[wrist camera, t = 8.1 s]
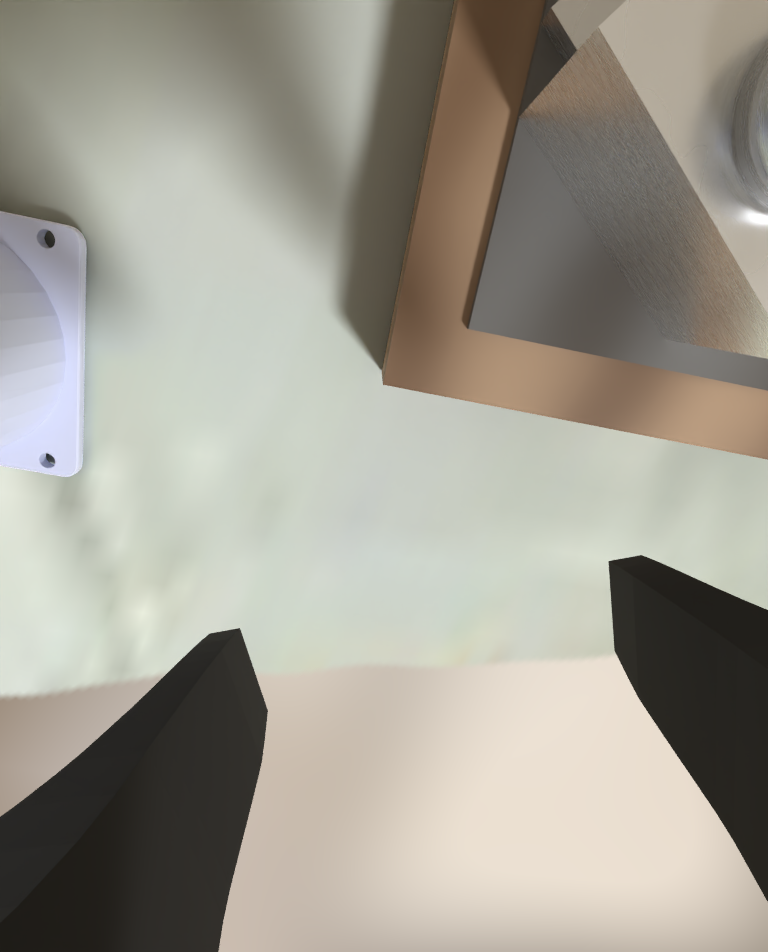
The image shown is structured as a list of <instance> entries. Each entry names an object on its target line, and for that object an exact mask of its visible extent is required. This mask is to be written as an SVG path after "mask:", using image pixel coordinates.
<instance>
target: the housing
mask: <svg viewBox="0 0 768 952" xmlns="http://www.w3.org/2000/svg"><path fill="white" fill-rule="evenodd" d="M541 25H542V27H543V28H544V30H545V32H546V33H547V35H548V37H549V38H550V40H551V41H552V43H553V45H554V46H555V48H556V49H557V51H558V53H559V54H560V56H561V58H562V59H563V61H564V62H565V65H564V66H563V68H562V69H561V70H560V71H559V72H558V73H557V74H556V76H555V77H554V78H553V79H552V80H551V81H550V82H549V84H548V85H547V86H546V87H545V88H544V89H543V90H542V92H541V93H540V94H539V95H538V96H537V97H536V98H535V100H534V101H533V102H532V103H531V104H530V105H529V107H528V108H527V109H526V110H525V111H524V112H523V113H522V115H521V116H520V117H519V119H520V120H521V122H522V123H523V125H524V126H525V128H526V129H527V131H528V132H529V134H530V135H531V137H532V138H533V140H534V141H535V143H536V144H537V146H538V147H539V149H540V150H541V152H542V153H543V155H544V156H545V158H546V159H547V161H548V162H549V164H550V165H551V167H552V168H553V170H554V171H555V173H556V174H557V176H558V177H559V179H560V181H561V182H562V184H563V185H564V187H565V188H566V190H567V191H568V193H569V194H570V196H571V197H572V199H573V200H574V202H575V203H576V205H577V206H578V208H579V209H580V211H581V212H582V214H583V215H584V217H585V218H586V220H587V221H588V223H589V224H590V226H591V227H592V229H593V230H594V232H595V233H596V235H597V236H598V238H599V240H600V241H601V243H602V244H603V246H604V247H605V249H606V250H607V252H608V253H609V255H610V256H611V258H612V259H613V261H614V262H615V264H616V265H617V267H618V268H619V270H620V271H621V273H622V274H623V276H624V277H625V279H626V280H627V282H628V283H629V285H630V286H631V288H632V289H633V291H634V292H635V294H636V295H637V297H638V299H639V300H640V302H641V303H642V305H643V306H644V308H645V309H646V311H647V312H648V314H649V315H650V317H651V318H652V320H653V321H654V323H655V324H656V326H657V327H658V329H659V330H660V332H661V333H662V335H663V336H664V338H665V339H666V340H671V341H676V342H681V343H687V344H692V345H697V346H703V347H708V348H713V349H719V350H724V351H729V352H734V353H740V354H745V355H750V356H756V357H761V358H766V359H768V0H559V1H558V2H556V3H555V4H554V5H553V6H552V7H551V9H550V10H549V12H548V13H547V15H546V17H545V18H544V20H543V21H542V23H541Z"/></svg>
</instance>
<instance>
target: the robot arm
mask: <svg viewBox="0 0 768 952" xmlns="http://www.w3.org/2000/svg"><path fill="white" fill-rule="evenodd" d="M48 231H51V232H52V234H53V235H54V237H55V244H54V246H53V247H52V248H50V247H48V245H47V244H46V243H45V239H44V237H45V233H47V232H48ZM86 256H87V246H86V240H85V238H84V236H83V234H82V233H81V232H80V231H79V230H78V229H77V228H75V227H72V226H70V225H65V224H60V223H56V222H51V221H46V220H41V219H37V218H32V217H27V216H22V215H17V214H13V213H8V212H3V211H0V466H4V467H10V468H16V469H22V470H28V471H33V472H39V473H45V474H51V475H57V476H62V477H69V476H72V475H74V474H75V473H77V472H79V470H80V469H81V468H82V464H83V428H84V371H85V313H86ZM46 453H48V454H50V455H52V456H53V457H54V459H55V464H51V463H49V462H48V460H47V459H46ZM609 574H610V589H611V604H612V619H613V634H614V648H615V652H616V654H617V656H618V658H619V660H620V662H621V664H622V666H623V668H624V670H625V672H626V674H627V676H628V678H629V680H630V682H631V684H632V686H633V688H634V690H635V692H636V694H637V696H638V697H639V699H640V700H641V702H642V704H643V705H644V707H645V708H646V710H647V711H648V713H649V714H650V716H651V717H652V719H653V720H654V722H655V723H656V725H657V726H658V728H659V729H660V731H661V732H662V734H663V735H664V737H665V738H666V739H667V741H668V743H669V744H670V745H671V747H672V749H673V750H674V751H675V753H676V754H677V756H678V757H679V759H680V760H681V762H682V763H683V765H684V766H685V768H686V769H687V770H688V772H689V773H690V775H691V776H692V778H693V779H694V781H695V782H696V784H697V785H698V787H699V788H700V790H701V791H702V793H703V794H704V796H705V797H706V798H707V800H708V801H709V803H710V804H711V806H712V807H713V809H714V810H715V812H716V813H717V815H718V817H719V818H720V820H721V821H722V823H723V824H724V826H725V827H726V829H727V831H728V832H729V834H730V836H731V837H732V839H733V840H734V842H735V844H736V846H737V848H738V849H739V851H740V853H741V855H742V856H743V858H744V860H745V862H746V864H747V865H748V867H749V869H750V871H751V872H752V874H753V876H754V878H755V880H756V882H757V883H758V885H759V887H760V889H761V890H762V892H763V894H764V896H765V898H766V900H767V901H768V610H766V609H764V608H761V607H759V606H757V605H754V604H752V603H749V602H747V601H745V600H742V599H740V598H738V597H735V596H733V595H731V594H729V593H726V592H724V591H722V590H720V589H717V588H715V587H713V586H711V585H708V584H706V583H704V582H702V581H700V580H697V579H695V578H693V577H691V576H689V575H686V574H684V573H682V572H680V571H677V570H675V569H673V568H671V567H669V566H666V565H664V564H662V563H659V562H657V561H655V560H652V559H650V558H647V557H644V556H642V555H640V556H635V557H629V558H624V559H618V560H613V561H609ZM267 712H268V710H267V708H266V704H265V701H264V698H263V695H262V693H261V690H260V687H259V684H258V681H257V678H256V675H255V672H254V669H253V666H252V663H251V660H250V657H249V654H248V651H247V648H246V645H245V642H244V639H243V636H242V633H241V630H240V628H238V629H233V630H227V631H222V632H216V633H211V634H209V635H208V636H206V637H205V638H204V639H203V640H202V641H201V642H199V643H198V644H197V645H196V646H195V647H194V648H193V649H192V650H191V651H190V652H189V653H188V654H187V655H186V656H185V657H184V658H182V659H181V660H180V661H179V662H178V663H177V664H176V665H175V666H174V667H173V668H172V669H171V670H170V671H169V672H168V673H167V674H166V675H165V676H164V677H163V678H162V679H161V680H160V681H159V682H158V683H157V684H156V685H155V686H154V687H153V688H152V689H151V690H150V691H149V692H148V693H147V694H146V695H145V696H143V697H142V698H141V699H140V700H139V702H137V703H136V704H135V705H134V706H133V707H132V708H131V709H130V710H129V711H128V712H127V713H125V714H124V715H123V716H122V717H121V718H120V719H119V720H118V721H117V722H116V723H114V724H113V725H112V726H111V727H110V728H109V729H108V730H107V731H106V732H104V733H103V734H102V735H101V736H100V737H99V738H98V739H97V740H96V741H95V742H93V743H92V744H91V745H90V746H89V747H88V748H87V749H86V750H85V751H84V752H82V753H81V754H80V755H79V756H78V757H76V758H75V759H74V760H73V761H72V762H70V763H69V764H68V765H67V766H66V767H64V768H63V769H62V770H61V771H59V772H58V773H57V774H56V775H55V776H53V777H52V778H51V779H49V780H48V781H47V782H46V783H44V784H43V785H42V786H40V787H39V788H38V789H37V790H35V791H34V792H33V793H32V794H30V795H29V796H28V797H26V798H25V799H24V800H23V801H21V802H20V803H19V804H17V805H16V806H15V807H13V808H12V809H11V810H9V811H8V812H6V813H5V814H4V815H2V816H1V817H0V952H218V950H219V943H220V938H221V931H222V925H223V919H224V914H225V910H226V905H227V900H228V895H229V891H230V887H231V883H232V878H233V875H234V871H235V867H236V863H237V859H238V855H239V851H240V847H241V843H242V839H243V835H244V832H245V828H246V824H247V820H248V815H249V812H250V808H251V804H252V800H253V796H254V792H255V788H256V783H257V779H258V775H259V771H260V766H261V763H262V756H263V748H264V741H265V731H266V722H267Z"/></svg>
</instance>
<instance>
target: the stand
mask: <svg viewBox="0 0 768 952" xmlns="http://www.w3.org/2000/svg"><path fill="white" fill-rule="evenodd" d="M558 1H559V0H454V4H453V9H452V14H451V19H450V25H449V30H448V35H447V40H446V45H445V50H444V55H443V60H442V65H441V71H440V76H439V81H438V86H437V91H436V96H435V101H434V106H433V112H432V117H431V122H430V127H429V132H428V137H427V142H426V147H425V153H424V158H423V163H422V168H421V173H420V178H419V183H418V188H417V193H416V199H415V204H414V209H413V214H412V219H411V224H410V229H409V234H408V240H407V245H406V250H405V255H404V260H403V265H402V270H401V275H400V280H399V286H398V291H397V296H396V301H395V306H394V311H393V316H392V321H391V327H390V332H389V337H388V342H387V347H386V352H385V357H384V362H383V368H382V379H383V385H388V386H394V387H399V388H404V389H409V390H414V391H419V392H424V393H429V394H435V395H440V396H445V397H450V398H455V399H460V400H465V401H471V402H476V403H481V404H486V405H491V406H496V407H501V408H506V409H512V410H517V411H522V412H527V413H532V414H537V415H542V416H548V417H553V418H558V419H563V420H568V421H573V422H578V423H583V424H589V425H594V426H599V427H604V428H609V429H614V430H619V431H624V432H630V433H635V434H640V435H645V436H650V437H655V438H660V439H666V440H671V441H676V442H681V443H686V444H691V445H696V446H701V447H707V448H712V449H717V450H722V451H727V452H732V453H737V454H743V455H748V456H753V457H758V458H763V459H768V359H766V358H761V357H756V356H750V355H745V354H740V353H734V352H729V351H724V350H719V349H713V348H708V347H703V346H697V345H692V344H687V343H681V342H676V341H671V340H666V339H665V338H664V336H663V335H662V333H661V332H660V330H659V329H658V327H657V326H656V324H655V323H654V321H653V320H652V318H651V317H650V315H649V314H648V312H647V311H646V309H645V308H644V306H643V305H642V303H641V302H640V300H639V299H638V297H637V295H636V294H635V292H634V291H633V289H632V288H631V286H630V285H629V283H628V282H627V280H626V279H625V277H624V276H623V274H622V273H621V271H620V270H619V268H618V267H617V265H616V264H615V262H614V261H613V259H612V258H611V256H610V255H609V253H608V252H607V250H606V249H605V247H604V246H603V244H602V243H601V241H600V240H599V238H598V236H597V235H596V233H595V232H594V230H593V229H592V227H591V226H590V224H589V223H588V221H587V220H586V218H585V217H584V215H583V214H582V212H581V211H580V209H579V208H578V206H577V205H576V203H575V202H574V200H573V199H572V197H571V196H570V194H569V193H568V191H567V190H566V188H565V187H564V185H563V184H562V182H561V181H560V179H559V177H558V176H557V174H556V173H555V171H554V170H553V168H552V167H551V165H550V164H549V162H548V161H547V159H546V158H545V156H544V155H543V153H542V152H541V150H540V149H539V147H538V146H537V144H536V143H535V141H534V140H533V138H532V137H531V135H530V134H529V132H528V131H527V129H526V128H525V126H524V125H523V123H522V122H521V120H520V119H519V117H520V116H521V115H522V113H523V112H524V111H525V110H526V109H527V108H528V107H529V105H530V104H531V103H532V102H533V101H534V100H535V98H536V97H537V96H538V95H539V94H540V93H541V92H542V90H543V89H544V88H545V87H546V86H547V85H548V84H549V82H550V81H551V80H552V79H553V78H554V77H555V76H556V74H557V73H558V72H559V71H560V70H561V69H562V68H563V66H564V65H565V62H564V61H563V59H562V58H561V56H560V54H559V53H558V51H557V49H556V48H555V46H554V45H553V43H552V41H551V40H550V38H549V37H548V35H547V33H546V32H545V30H544V28H543V27H542V25H541V23H542V21H543V20H544V18H545V17H546V15H547V13H548V12H549V10H550V9H551V7H552V6H553V5H554V4H555V3H556V2H558Z"/></svg>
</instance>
